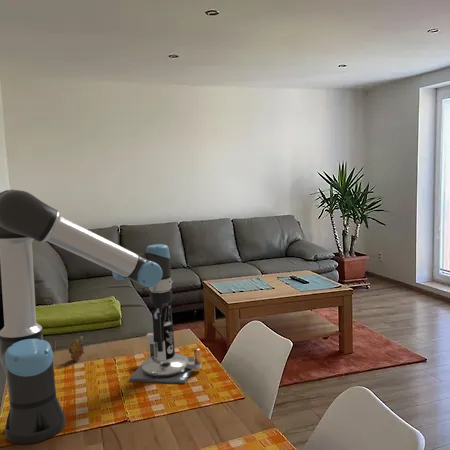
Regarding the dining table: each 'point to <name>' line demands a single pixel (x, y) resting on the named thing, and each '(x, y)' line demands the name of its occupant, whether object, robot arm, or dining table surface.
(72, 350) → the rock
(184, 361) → the turntable
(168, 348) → the beverage can
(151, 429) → the dining table surface
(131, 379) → the turntable base
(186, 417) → the dining table surface
